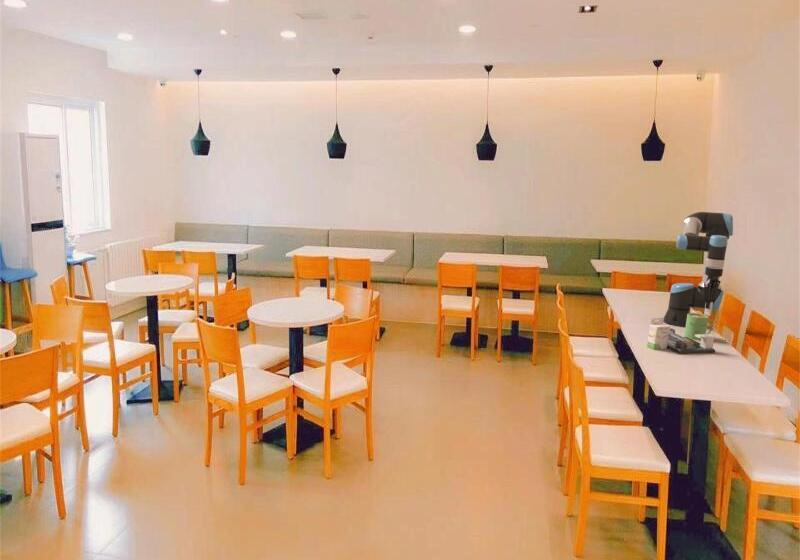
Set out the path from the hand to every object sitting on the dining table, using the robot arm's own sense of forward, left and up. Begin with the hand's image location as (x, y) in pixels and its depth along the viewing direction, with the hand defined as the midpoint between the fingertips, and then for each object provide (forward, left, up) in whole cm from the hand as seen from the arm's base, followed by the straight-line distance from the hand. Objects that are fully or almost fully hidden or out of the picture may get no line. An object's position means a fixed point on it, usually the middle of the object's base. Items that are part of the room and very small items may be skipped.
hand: (707, 314), depth 305 cm
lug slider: (+1, +2, -16) cm, 16 cm away
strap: (+10, -6, -14) cm, 18 cm away
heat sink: (+10, -6, -17) cm, 20 cm away
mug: (-12, -20, -18) cm, 30 cm away
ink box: (+22, -5, -18) cm, 29 cm away
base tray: (+7, -6, -18) cm, 20 cm away
